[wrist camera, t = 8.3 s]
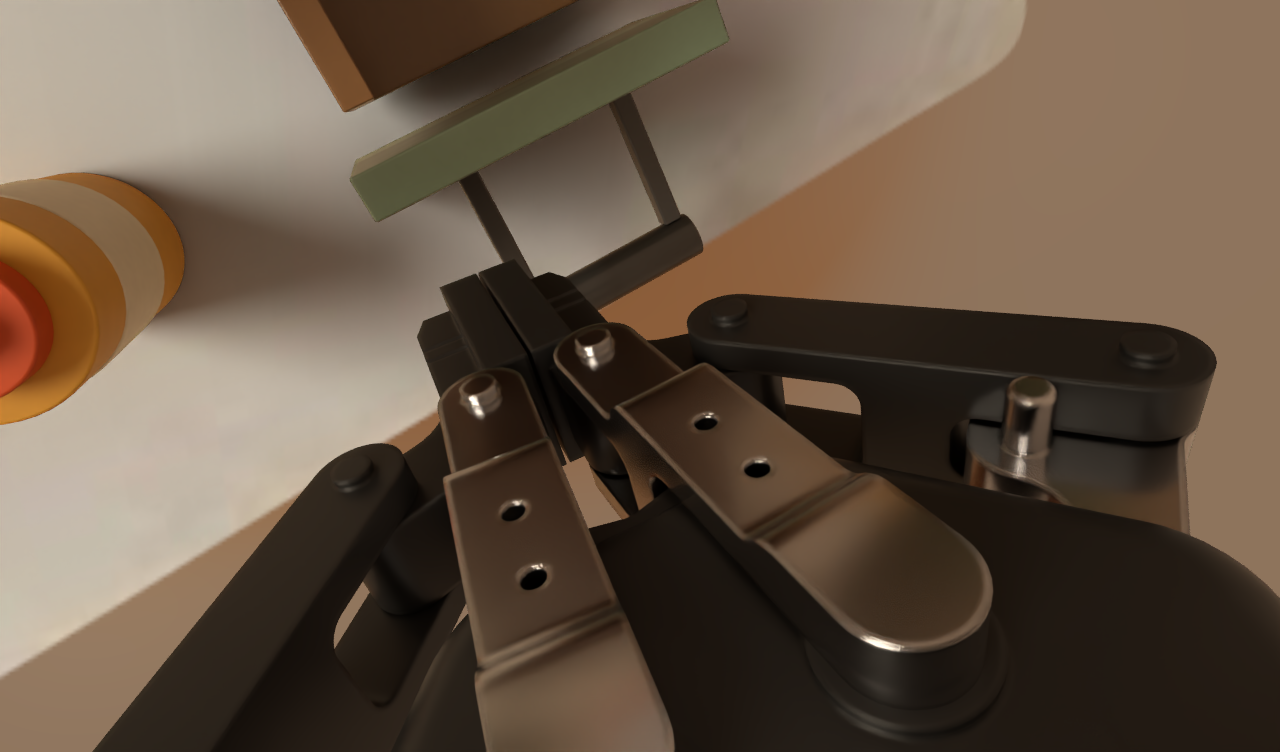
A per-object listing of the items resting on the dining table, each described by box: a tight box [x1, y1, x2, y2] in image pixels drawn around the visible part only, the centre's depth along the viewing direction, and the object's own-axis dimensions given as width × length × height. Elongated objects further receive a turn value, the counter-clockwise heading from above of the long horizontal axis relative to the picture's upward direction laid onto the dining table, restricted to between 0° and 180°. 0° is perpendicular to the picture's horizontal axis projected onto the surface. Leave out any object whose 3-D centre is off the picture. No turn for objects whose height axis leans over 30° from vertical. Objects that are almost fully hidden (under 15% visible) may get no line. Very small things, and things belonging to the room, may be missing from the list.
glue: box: [0, 173, 185, 425], centre depth 18 cm, size 5×5×10 cm
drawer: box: [277, 0, 729, 311], centre depth 20 cm, size 18×10×7 cm, turn 24°
